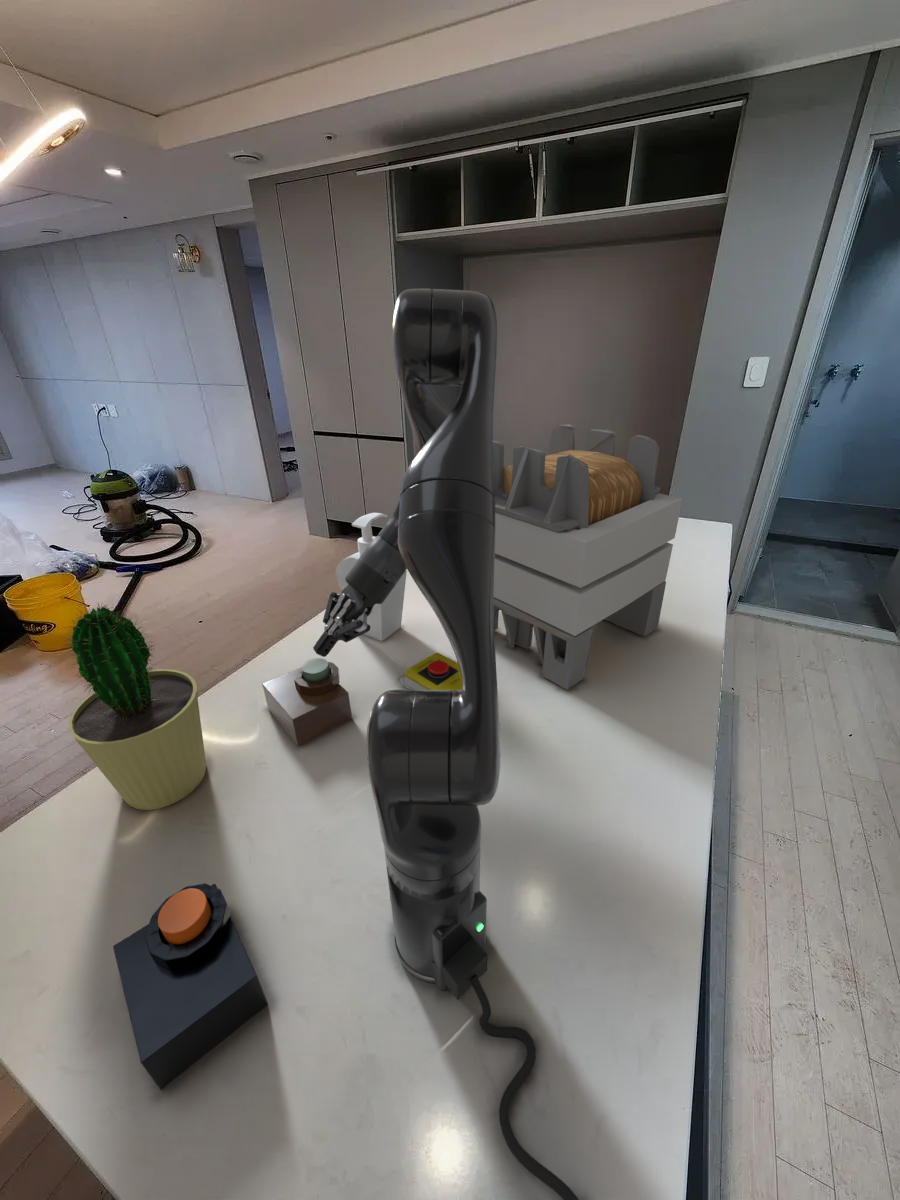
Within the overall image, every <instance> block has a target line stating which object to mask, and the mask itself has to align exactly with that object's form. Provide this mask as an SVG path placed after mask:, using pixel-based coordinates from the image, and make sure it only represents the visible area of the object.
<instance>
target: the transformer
mask: <svg viewBox="0 0 900 1200" xmlns="http://www.w3.org/2000/svg"><path fill="white" fill-rule="evenodd" d="M577 429H578V428H577V427H576V426H575V425H573V424H571V423H567V424H566V423H565V424H557V426H555V427H554V428H553V429H552V430H551V433H550V439H549V445H548V452H547V455H546V452H545V451H544V450H541V449H538V448H537V449H536V448H532V447H527V446H523V445H521V446H516V447H514V448H513V451H512V465H507V466H504V463H505V462H504V461H505V459H504V458H505V444H504V443H503V442H502V441H500V440H493V460H494V485H495V563H494V601H493V614H494V631H496V630H497V629H498V628H499V614H500V613H499V612H500V611H501V615H502V620H503V624H504V627H505V637H506V639H507V640H508V644H509V647H510V648H515V645H517V646H519V647H521V648H523V649H526V650H527V649H529V648H531V647H532V645H533V632H534V638H535V642H536V643H535V644H536V647H537V653H538V658H539V664H541V665H542V670H541V677H543V678H545V679H547V680H548V681H550V682H552V683H554V684H555V685H558V686H559V687H561V688H562V689H563V690H567V691H568V690H571V689H573V688H574V685H576V684H578V683H580V682H582V681H583V680H584V679H585V678H584V677H585V673H586V666H587V662H588V657H589V652H590V647H591V641H592V637H593V632H594V627H593V626H594V625H596V624H598V623H600V622H601V621H603V620H604V621H607V622H609V623H612V624H614V625H616V626H619V627H621V628H623V629H625V630H628V631H630V632H632V633H634V634H637V635H639V636H641V637H646V636H647V635H650V634H651V633H652V632H654V631H656V630H659V629H658V628H659V624H660V618H661V613H662V607H663V603H664V602H663V601H664V597H665V590H666V584H667V581H666V580H667V575H668V570H669V568H670V567H669V566H670V561H671V557H672V551H673V547H674V543H670V541H672V540H674V539H675V538H676V533H677V528H678V523H679V519H680V515H681V509H682V503H683V500H684V498H681V497H678V496H672V495H667V494H665V493H659V492H660V491H661V487H660V486H659V485H655V483H656V482H655V481H656V474H657V467H658V463H659V462H658V461H659V455H660V445H659V443H658V442H657V440H656V439H654V438H651V437H650V436H645V435H643V434H637V435H634V436H631V437H630V439H629V442H628V449H627V457H626V460H625V459H624V458H621V457H617V456H615V445H616V437H618V433H617V432H615V431H613V430H611V429H608V428H605V429H598V428H592V429H588V430H587V432H586V440H585V447H584V450H577V449H576V444H575V443H576V438H575V430H577Z"/></svg>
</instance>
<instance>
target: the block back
mask: <svg viewBox="0 0 900 1200" xmlns="http://www.w3.org/2000/svg"><path fill="white" fill-rule="evenodd" d="M327 662H328V664H329V670H330V675H329V677H328V678H327V679H325V680H323V681H321V682H316V683H310V682H306V681H305V680H304V677H303V672H302V666H300V667H298V668H295V669H293V670H291V671H288V672H286V673H284V674H281V675H279V676H277V677H275V678H272V679H270V680H268V681H265V682H262V689H263V693H264V697H265V701H266V705H267V709H268V711H269V712H270V713H271V714H272V716H273V717H274V718H275V719H276V721H277V722H278V723H279V724H280V725H281V727H282V728H283V729H284V730H285V732H286V733H287V734H288V736H289V737H290V738H291V739H292V740H293V742H294V743H295V744H296V745H297V747H300V746H301V745H304V744H305V743H308V742H309V741H311V740H313V739H315V738H317V737H320V736H321V735H323V734H325V733H327V732H329V731H331V730H333V729H334V728H337V727H338V726H340V725H342V724H344V723H346V722H348V721H350V720H352V719H353V715H352V708H351V701H350V695H349V691H347V690H346V689H345V688H344V687H343V686H342V685H341V684H340V678H341V677H340V676H341V675H340V669H339V667H338V665H336V664H335V663H334V662H331V661H327Z"/></svg>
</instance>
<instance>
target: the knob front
mask: <svg viewBox="0 0 900 1200" xmlns="http://www.w3.org/2000/svg"><path fill="white" fill-rule="evenodd" d="M181 890H182V889H181ZM179 891H180V890H179ZM177 892H178V891H177ZM177 892H175V893H176V894H175V893H174V894H175V895H173V894H172V895H173V896H172V895H171V896H172V897H171V898H170V899H168V900H167V902H166V903H165V904H164V905H163V907H162V908H161V910H160V913H159V916H158V926H159V928H160V930H161V932H162V934H163V935H164V937H165V939H166V940H167V941H168V942H169V943H171V944H176V945H179V944H184V943H187V942H189V941H191V940H193V939H195V938H196V937H197V936H199V935H200V934H201V933H202V932H203V930H204V929H205V928H206V926H207V925H208V923H209V920H210V917H211V908H210V906H209V903H208V901H207V899H206V896H205V894H204V893H203V892H202V891H201V890H198V889H194V888H191V889H185V890H182V891H180V892H178V893H177Z"/></svg>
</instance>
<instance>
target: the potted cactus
mask: <svg viewBox="0 0 900 1200" xmlns="http://www.w3.org/2000/svg"><path fill="white" fill-rule="evenodd" d="M118 604H119V603H117V604H116V606H115V607H114V606H112V607H111V609H113V608H114V609H113V610H110V607H108V605H106V604H105V605H104V603H102V604H101V606H100V602H96V605H97V607H96V609H95V608H94V607H93V608H91V609H88V610H87V613H83V611H82V610H80V609H79V608H78V607H77V608H76V609H77V610H78V612H80V614H81V615H82V614H83V616H82V617H81V616H79V615H78V614H76V616H77V617H75V619H74V620H73V619H71V622H70V621H69V623H72V626H71V625H70V626H68V625H67V628H68V629H69V630H71V631H68V633H65V634H67V635H68V634H69V635H68V638H66V639H65V640H64V642H65V643H64V644H66V645H64V647H65V646H67V649H68V648H69V649H70V646H71V650H69V651H67V652H66V653H64V655H63V656H65V655H67V654H68V653H70V654H69V656H70V657H72V656H73V658H74V661H73V663H76V665H75V666H72V669H75V668H78V673H79V675H78V677H76V675H75V676H74V677H76V678H75V680H76V679H77V680H79V681H83V680H84V681H85V685H84V686H82V687H83V688H85V687H86V688H85V689H84V692H86V691H87V690H88V693H87V697H85V698H84V699H83V700H82V701H80V703H79V704H78V705H77V706H76V707H75V709H74V710H73V712H72V714H71V715H70V718H69V721H68V730H69V732H70V734H71V736H72V737H73V738H74V739H75V741H76V742H77V744H78V745H79V746H80V747H81V749H82V750H83V751H84V752H85V753H86V755H87V756H88V757H89V759H90V760H91V761H92V762H93V763H94V764H95V766H96V768H97V769H98V770H99V771H100V772H101V773H102V775H103V776H104V777H105V778H106V780H108V782H109V783H110V784H111V786H112V787H113V788H114V789H115V791H117V793H118V794H119V795H120V797H121V798H122V799H123V801H124V803H126V804H128V806H130V807H132V808H134V809H137V810H142V811H151V810H152V811H153V810H157V809H158V810H159V809H161V808H165V807H168V806H171V805H173V804H175V803H177V802H179V801H181V800H183V799H184V798H185V797H187V796H189V794H191V793H192V792H193V791H195V790H196V788H197V787H198V786H199V785H200V783H202V781H203V779H204V777H205V774H206V771H207V759H206V751H205V744H204V738H203V737H204V736H203V730H202V729H203V728H202V722H201V721H202V720H201V714H200V706H199V698H198V689H197V687H198V685H197V682H196V680H195V678H193V677H192V675H190V674H189V673H187V672H185V671H182V670H178V669H171V668H157V669H156V668H154V666H155V664H154V663H153V664H152V666H150V662H152V659H151V657H152V658H157V657H155V656H154V655H152V654H151V653H152V652H151V651H153V650H154V646H156V645H157V643H156V644H154V645H153V643H154V641H150V643H149V641H148V642H146V641H145V640H146V638H145V636H147V635H148V636H147V638H149V637H150V636H149V634H148V633H149V632H148V633H145V630H140V629H143V626H142V625H143V624H142V625H140V626H138V627H137V622H138V618H137V619H136V620H135V623H134V622H133V621H132V619H133V617H132V618H131V617H130V616H127V617H126V616H125V614H124V613H122V611H124V609H122V611H120V610H118V611H117V612H115V610H116V608H117V606H118ZM141 626H142V627H141ZM63 628H64V629H66V626H63ZM143 633H144V634H143ZM60 638H63V639H64V637H63V636H62V637H60ZM69 644H70V646H69ZM72 652H73V653H72ZM73 654H74V655H73ZM75 660H76V661H75ZM73 663H72V664H71V663H70V666H71V665H73ZM153 665H154V666H153ZM72 673H73V672H72ZM74 677H73V678H74ZM82 678H83V680H80V679H82ZM90 692H91V693H90Z"/></svg>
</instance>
